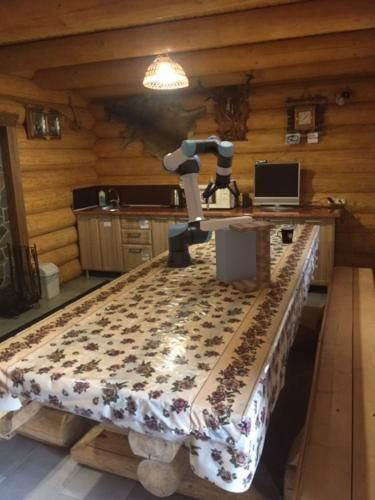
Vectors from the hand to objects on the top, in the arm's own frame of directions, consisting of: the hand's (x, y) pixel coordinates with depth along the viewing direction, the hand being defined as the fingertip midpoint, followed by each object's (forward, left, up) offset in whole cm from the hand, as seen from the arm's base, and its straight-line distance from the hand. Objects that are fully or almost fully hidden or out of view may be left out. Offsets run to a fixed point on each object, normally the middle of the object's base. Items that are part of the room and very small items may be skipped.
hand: (219, 207), depth 227 cm
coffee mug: (+52, +50, -34) cm, 80 cm away
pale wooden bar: (-1, -22, -7) cm, 23 cm away
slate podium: (+4, -20, -34) cm, 40 cm away
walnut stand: (+9, -35, -34) cm, 49 cm away
